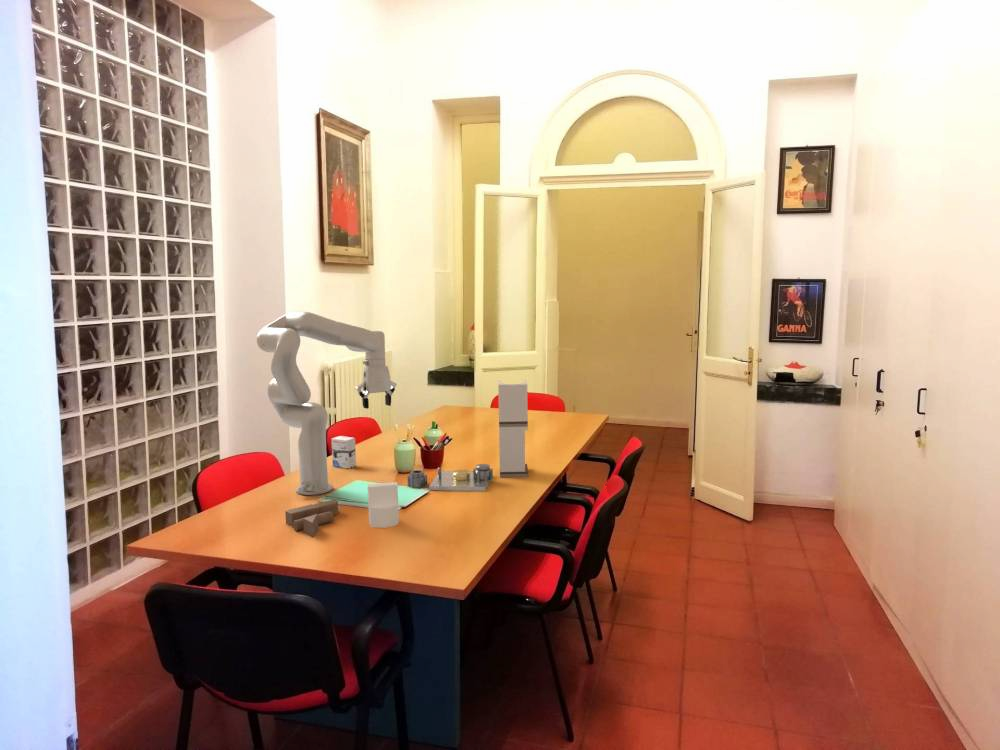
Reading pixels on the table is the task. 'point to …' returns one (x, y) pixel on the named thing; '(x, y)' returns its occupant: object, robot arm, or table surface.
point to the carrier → (463, 479)
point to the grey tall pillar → (512, 429)
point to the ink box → (343, 452)
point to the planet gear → (417, 479)
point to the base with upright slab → (383, 504)
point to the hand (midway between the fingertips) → (377, 406)
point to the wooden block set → (311, 516)
